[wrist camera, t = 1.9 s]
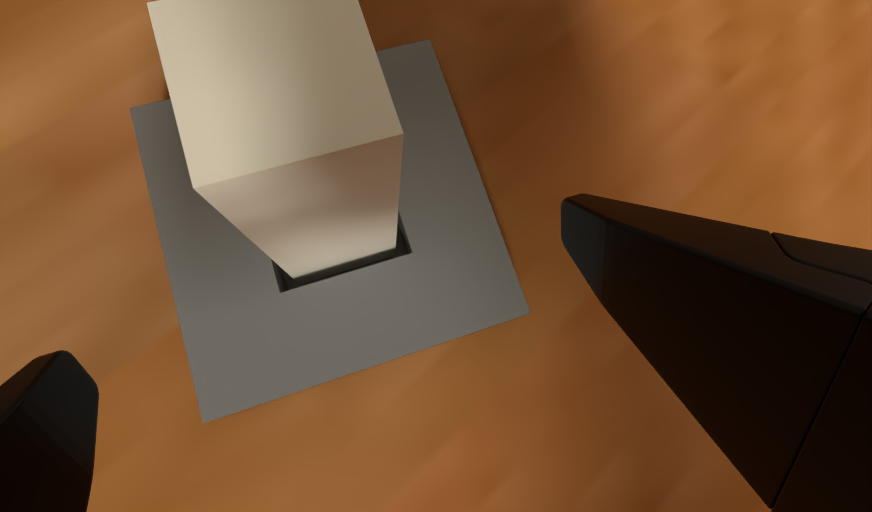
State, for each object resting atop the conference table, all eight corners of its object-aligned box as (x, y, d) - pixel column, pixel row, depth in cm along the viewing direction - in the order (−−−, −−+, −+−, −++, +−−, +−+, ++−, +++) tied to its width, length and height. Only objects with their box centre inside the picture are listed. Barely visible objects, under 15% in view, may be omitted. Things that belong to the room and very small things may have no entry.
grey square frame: (513, 318, 21) (530, 313, 18) (226, 415, 19) (202, 423, 16) (425, 73, 23) (430, 38, 20) (159, 138, 21) (129, 108, 18)
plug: (395, 255, 20) (403, 133, 9) (299, 284, 19) (193, 188, 9) (367, 168, 21) (345, -37, 10) (274, 194, 20) (146, 2, 9)
